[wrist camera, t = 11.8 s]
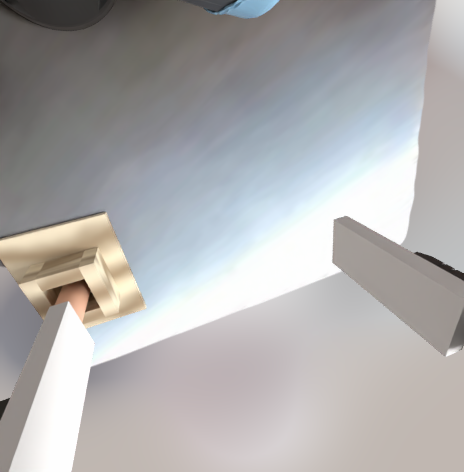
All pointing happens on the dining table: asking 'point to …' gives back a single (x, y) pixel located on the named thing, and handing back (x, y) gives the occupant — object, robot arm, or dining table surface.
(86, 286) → the dowel
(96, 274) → the socket block
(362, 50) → the dining table surface
